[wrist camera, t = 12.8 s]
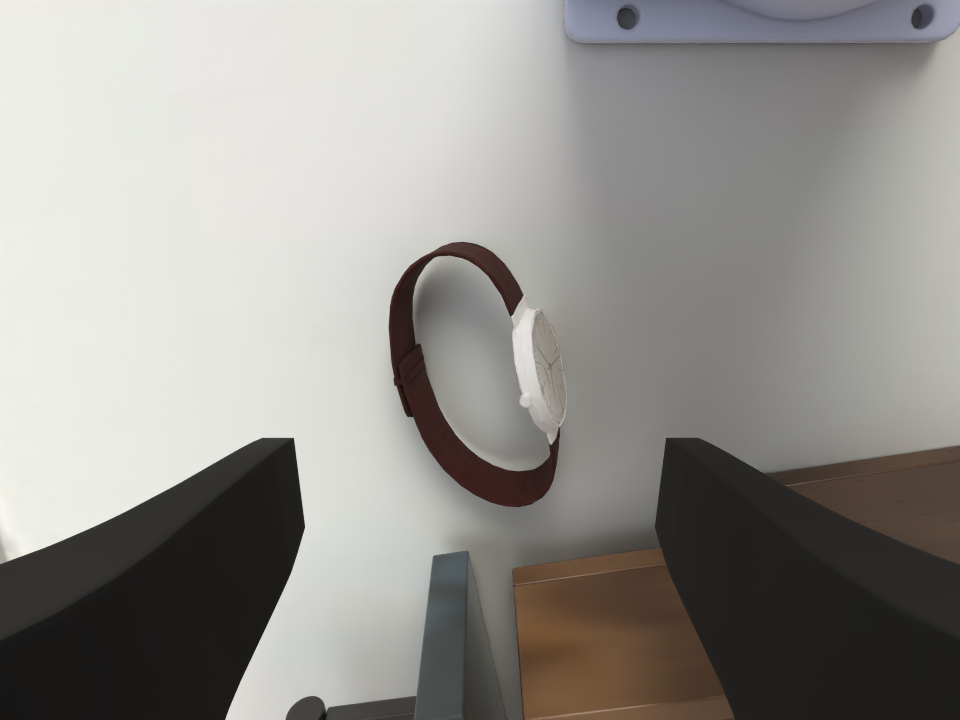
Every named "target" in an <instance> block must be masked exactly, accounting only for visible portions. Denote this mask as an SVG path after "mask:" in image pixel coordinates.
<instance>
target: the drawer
mask: <svg viewBox="0 0 960 720" xmlns="http://www.w3.org/2000/svg"><path fill="white" fill-rule="evenodd" d="M512 574H513V586H514V600H515V613H516V627H517V640H518V653H519V667H520V680H521V694H522V707H523V720H735V719H734V716H733V713H732V710H731V707H730V705H729V703H728V700H727V698H726V696H725V693H724V691H723V688H722V686H721V684H720V681H719V679H718V677H717V675H716V673H715V671H714V669H713V666H712V664H711V662H710V660H709V658H708V656H707V654H706V652H705V649H704V647H703V645H702V643H701V641H700V639H699V637H698V635H697V633H696V630H695V628H694V626H693V624H692V622H691V620H690V618H689V616H688V613H687V611H686V609H685V607H684V605H683V603H682V600H681V598H680V596H679V594H678V592H677V590H676V587H675V585H674V583H673V581H672V579H671V576H670V574H669V571H668V568H667V565H666V562H665V559H664V556H663V553H662V550H661V547H659V548H652V549H645V550H638V551H631V552H624V553H616V554H609V555H602V556H595V557H588V558H581V559H574V560H567V561H560V562H553V563H546V564H539V565H532V566H525V567H517V568H513V570H512ZM286 720H506V717H505V712H504V708H503V703H502V699H501V694H500V690H499V685H498V681H497V676H496V672H495V667H494V663H493V658H492V654H491V649H490V645H489V640H488V636H487V631H486V627H485V622H484V618H483V613H482V609H481V604H480V600H479V596H478V591H477V587H476V582H475V578H474V573H473V569H472V564H471V560H470V555H469V552H468V551H462V552H455V553H448V554H441V555H435V556H433V561H432V570H431V578H430V587H429V595H428V604H427V612H426V621H425V629H424V638H423V646H422V655H421V663H420V672H419V680H418V689H417V696H412V697H404V698H396V699H389V700H381V701H373V702H365V703H358V704H350V705H342V706H334V707H329V708H328V710H326V708H325V705H324V703H323V701H322V700H321V699H320V698H318V697H315V696H309V697H305V698H303V699H301V700H299V701H298V702H296V703H295V704H294V705H293V706H292V707H291V708H290V710H289V712H288V713H287V716H286Z"/></svg>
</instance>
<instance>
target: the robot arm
mask: <svg viewBox="0 0 960 720" xmlns="http://www.w3.org/2000/svg"><path fill="white" fill-rule="evenodd" d="M623 8H628V9H631V10H632V12H633V13H634V15H635V23H634V26H633V28H632V29H629V30H626V29H623V28H621V27H620V25H619V24H618V20H617V15H618V12H619V10H620V9H623ZM915 9H919V10H920V12H921V14H922V21H921V23H920V25H919V27H918V28H917V29H916V28H914V27H913V25H912V24H911V16H912V14H913V12H914V10H915ZM563 22H564V29H565V31H566V33H567V35H568V37H570V38H571V39H572V40H574V41H575V42H579V43H930V42H935V41H939V40H944V39H946V38H947V37H949V36H951V35H952V34H953V33H954V32H955V31H956V30H957V28H958V27H959V26H960V0H564V15H563ZM304 529H305V523H304V515H303V507H302V499H301V491H300V483H299V475H298V467H297V460H296V452H295V444H294V438H261V439H259V440H256V441H254V442H252V443H250V444H248V445H246V446H244V447H242V448H241V449H239V450H237V451H235V452H233V453H232V454H230V455H228V456H226V457H225V458H223V459H221V460H219V461H218V462H216V463H214V464H212V465H211V466H209V467H207V468H205V469H204V470H202V471H200V472H198V473H197V474H195V475H193V476H192V477H190V478H188V479H186V480H185V481H183V482H181V483H179V484H177V485H176V486H174V487H172V488H170V489H168V490H166V491H164V492H162V493H161V494H159V495H157V496H155V497H153V498H151V499H149V500H147V501H145V502H143V503H142V504H140V505H138V506H136V507H134V508H132V509H130V510H128V511H126V512H124V513H122V514H120V515H118V516H116V517H114V518H112V519H110V520H108V521H106V522H104V523H101V524H99V525H97V526H95V527H93V528H90V529H88V530H86V531H84V532H81V533H79V534H77V535H74V536H72V537H70V538H67V539H65V540H63V541H61V542H58V543H56V544H53V545H51V546H48V547H46V548H43V549H41V550H38V551H35V552H32V553H30V554H27V555H24V556H22V557H19V558H16V559H13V560H11V561H8V562H5V563H3V564H0V720H225V719H226V716H227V713H228V710H229V707H230V705H231V703H232V700H233V698H234V696H235V693H236V691H237V688H238V686H239V684H240V681H241V679H242V677H243V675H244V673H245V671H246V669H247V666H248V664H249V662H250V660H251V658H252V656H253V654H254V652H255V649H256V647H257V645H258V643H259V641H260V639H261V637H262V635H263V632H264V630H265V628H266V626H267V624H268V622H269V620H270V618H271V616H272V613H273V611H274V609H275V607H276V605H277V603H278V600H279V598H280V596H281V594H282V592H283V590H284V587H285V585H286V583H287V581H288V579H289V576H290V574H291V571H292V568H293V565H294V562H295V559H296V556H297V553H298V550H299V546H300V543H301V539H302V536H303V532H304ZM655 529H656V532H657V536H658V539H659V543H660V546H661V550H662V553H663V556H664V559H665V562H666V565H667V568H668V571H669V574H670V576H671V579H672V581H673V583H674V585H675V587H676V590H677V592H678V594H679V596H680V598H681V600H682V603H683V605H684V607H685V609H686V611H687V613H688V616H689V618H690V620H691V622H692V624H693V626H694V628H695V630H696V633H697V635H698V637H699V639H700V641H701V643H702V645H703V647H704V649H705V652H706V654H707V656H708V658H709V660H710V662H711V664H712V666H713V669H714V671H715V673H716V675H717V677H718V679H719V681H720V684H721V686H722V688H723V691H724V693H725V696H726V698H727V700H728V703H729V705H730V707H731V710H732V713H733V716H734V719H735V720H960V564H957V563H955V562H952V561H949V560H946V559H943V558H941V557H938V556H935V555H933V554H930V553H928V552H925V551H922V550H920V549H917V548H915V547H912V546H910V545H907V544H905V543H903V542H900V541H898V540H896V539H893V538H891V537H889V536H886V535H884V534H882V533H879V532H877V531H875V530H872V529H870V528H868V527H866V526H863V525H861V524H859V523H857V522H855V521H853V520H850V519H848V518H846V517H844V516H842V515H840V514H838V513H836V512H834V511H832V510H830V509H828V508H826V507H824V506H822V505H820V504H819V503H817V502H815V501H813V500H811V499H809V498H807V497H805V496H803V495H801V494H799V493H798V492H796V491H794V490H792V489H790V488H788V487H787V486H785V485H783V484H781V483H779V482H778V481H776V480H774V479H772V478H771V477H769V476H767V475H765V474H764V473H762V472H760V471H758V470H757V469H755V468H753V467H751V466H750V465H748V464H746V463H744V462H743V461H741V460H739V459H738V458H736V457H734V456H732V455H731V454H729V453H727V452H725V451H723V450H722V449H720V448H718V447H716V446H714V445H712V444H710V443H708V442H706V441H704V440H702V439H699V438H666V444H665V452H664V460H663V467H662V475H661V483H660V491H659V499H658V507H657V515H656V523H655Z"/></svg>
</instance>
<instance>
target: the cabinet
mask: <svg viewBox="0 0 960 720" xmlns="http://www.w3.org/2000/svg"><path fill="white" fill-rule="evenodd" d="M765 475H767V476H769V477H771V478H772V479H774V480H776V481H778V482H779V483H781V484H783V485H785V486H787V487H788V488H790V489H792V490H794V491H796V492H798V493H799V494H801V495H803V496H805V497H807V498H809V499H811V500H813V501H815V502H817V503H819V504H820V505H822V506H824V507H826V508H828V509H830V510H832V511H834V512H836V513H838V514H840V515H842V516H844V517H846V518H848V519H850V520H853V521H855V522H857V523H859V524H861V525H863V526H866V527H868V528H870V529H872V530H875V531H877V532H879V533H882V534H884V535H886V536H889V537H891V538H893V539H896V540H898V541H900V542H903V543H905V544H907V545H910V546H912V547H915V548H917V549H920V550H922V551H925V552H928V553H930V554H933V555H935V556H938V557H941V558H943V559H946V560H949V561H952V562H955V563H957V564H960V446H954V447H948V448H941V449H934V450H927V451H921V452H914V453H907V454H900V455H893V456H887V457H880V458H873V459H866V460H860V461H853V462H846V463H839V464H832V465H826V466H819V467H812V468H805V469H799V470H792V471H785V472H778V473H772V474H765Z"/></svg>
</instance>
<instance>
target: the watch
mask: <svg viewBox="0 0 960 720" xmlns="http://www.w3.org/2000/svg"><path fill="white" fill-rule="evenodd" d="M438 256H454V257H459V258H463V259H466V260H468V261H470V262H471V263H473V264H475V265H476V266H478V267H479V268H480V269H481V270H482V271H483V272H484V273H485V274H486V275H488V276H489V278H490V279H491V281H492V282H493V284H494V285H495V287H496V288H497V290H498V291H499V292H500V294H501V295H502V297H503V300H504V302H505V305H506V307H507V310H508V312H509V314H510V317H511V319H512V322H513V332H512V340H513V351H514V362H515V367H516V373H517V378H518V383H519V388H520V391H521V393H522V395H521V398H520V400H519V403H520V404H521V406H522V407H527V409H528V411H529V413H530V416H531V418H532V420H533V423H534V424H535V425H536V426H537V427H538V428H539V429H541V430H542V431H544V432H546V434H547V437H548V441H549V447H550V453H551V454H550V457H549V458H548V459H547V460H546V461H545V462H544V463H543V464H542V465H541V466H539V467H538V468H536V469H533V470H528V471H519V472H518V471H510V470H505V469H502V468H499V467H497V466H494V465H492V464H490V463H488V462H486V461H485V460H483V459H481V458H479V457H478V456H477V455H476V454H474V453H473V452H472V451H471V450H470V449H468V448H467V447H466V446H465V445H464V443H463V442H462V441H461V440H460V439H459V438H458V437H457V436H456V435H455V433H454V432H453V430H452V428H451V427H450V425H449V424H448V422H447V421H446V419H445V418H444V416H443V414H442V412H441V410H440V408H439V406H438V403H437V401H436V398H435V395H434V393H433V390H432V387H431V385H430V382H429V379H428V377H427V373H426V368H425V363H424V356H423V354H422V349H421V344H417V346H416V343H415V335H414V327H413V319H412V315H413V294H414V288H415V285H416V282H417V279H418V277H419V275H420V274H421V272H422V270H423V269H424V267H425V266H426V265H427V264H428V263H429V262H430V261H431V260H432V259H433V258H435V257H438ZM389 337H390V349H391V362H392V368H393V373H394V385H395V386H397V389H398V392H399V395H400V399H401V402H402V405H403V408H404V411H405V413H406V415H407V417H414V420H415V422H416V425H417V427H418V430H419V432H420V434H421V437H422V439H423V440H424V442H425V444H426V446H427V447H428V449H429V451H430V452H431V454H432V455H433V456H434V458H435V459H436V460H437V462H438V463H439V464H440V465H441V467H442V468H443V469H444V470H445V471H446V472H447V473H448V474H449V475H450V476H451V477H452V478H453V479H454V480H455V481H457V482H458V483H459V484H460V485H461V486H462V487H464V488H465V489H467V490H468V491H470V492H471V493H473V494H474V495H476V496H478V497H480V498H482V499H484V500H487V501H489V502H491V503H495V504H498V505H503V506H508V507H522V506H526V505H530V504H532V503H534V502H536V501H537V500H539V499H541V498H542V497H543V496H544V495H545V494H546V493H547V491H548V490H549V488H550V486H551V484H552V482H553V479H554V474H555V469H556V465H557V457H558V449H559V437H560V426H561V424H562V423H563V421H564V419H565V415H566V404H567V394H566V385H565V376H564V370H563V364H562V359H561V355H560V351H559V347H558V343H557V339H556V336H555V333H554V330H553V328H552V326H551V324H550V322H549V320H548V318H547V317H546V315H545V314H544V312H543V311H542V309H540V308H539V309H536V310H533V309H531V308H529V306H528V303H527V299H526V295H523V293H522V291H521V289H520V287H519V285H518V283H517V282H516V280H515V278H514V277H513V275H512V274H511V272H510V271H509V269H508V268H507V266H506V265H505V264H504V263H503V262H502V261H501V260H500V259H499V258H498V257H497V256H496V255H495V254H494V253H493V252H491V251H489V250H488V249H486V248H484V247H482V246H480V245H477V244H473V243H467V242H456V243H450V244H447V245H444V246H441V247H440V248H438V249H437V250H435V251H433V252H431V253H429V254H427V255H425V256H423V257H421V258H420V259H419V260H417V261H416V262H415V263H413V264H412V265H410V267H409V268H408V269H407V270H406V271H405V273H404V274H403V276H402V277H401V279H400V281H399V282H398V284H397V286H396V287H395V290H394V293H393V296H392V299H391V305H390V316H389Z"/></svg>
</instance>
